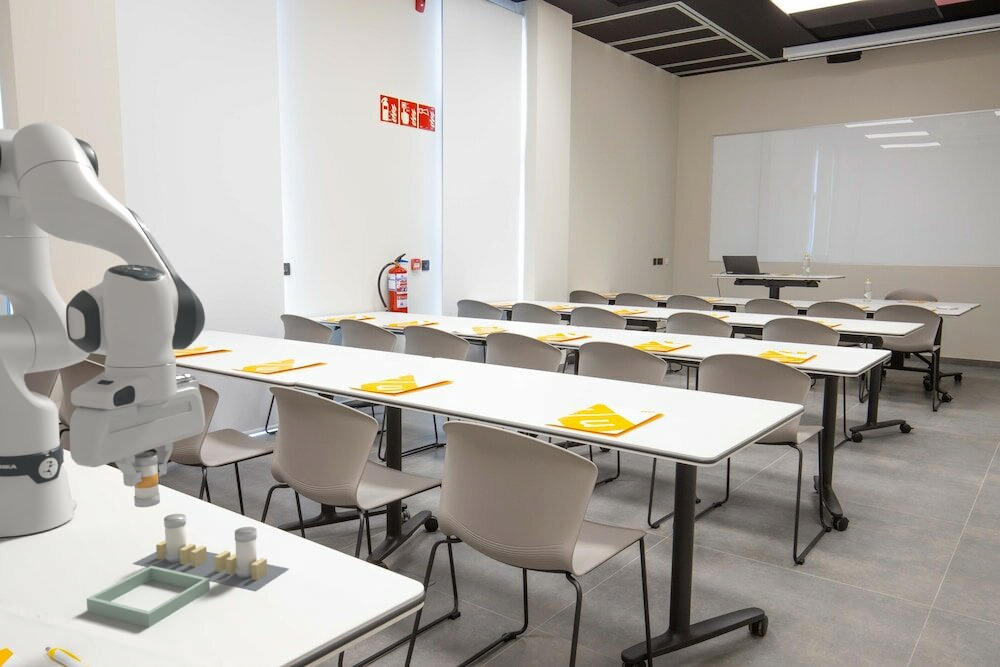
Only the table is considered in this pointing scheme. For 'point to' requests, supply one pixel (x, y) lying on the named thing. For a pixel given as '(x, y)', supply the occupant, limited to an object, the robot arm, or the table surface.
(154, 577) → the parts tray
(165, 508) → the table surface
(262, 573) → the fuse holder
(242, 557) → the outer fuse
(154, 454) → the marked fuse
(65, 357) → the robot arm
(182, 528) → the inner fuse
